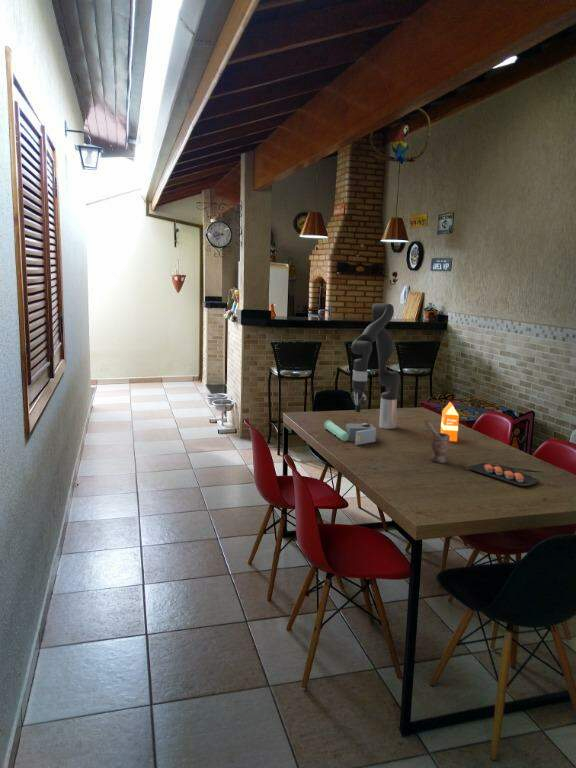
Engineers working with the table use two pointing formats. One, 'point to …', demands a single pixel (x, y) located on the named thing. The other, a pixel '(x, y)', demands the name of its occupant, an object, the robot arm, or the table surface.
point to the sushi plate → (505, 474)
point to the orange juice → (450, 422)
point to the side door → (365, 436)
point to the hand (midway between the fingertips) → (357, 412)
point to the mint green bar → (336, 430)
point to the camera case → (356, 429)
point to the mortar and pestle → (438, 443)
